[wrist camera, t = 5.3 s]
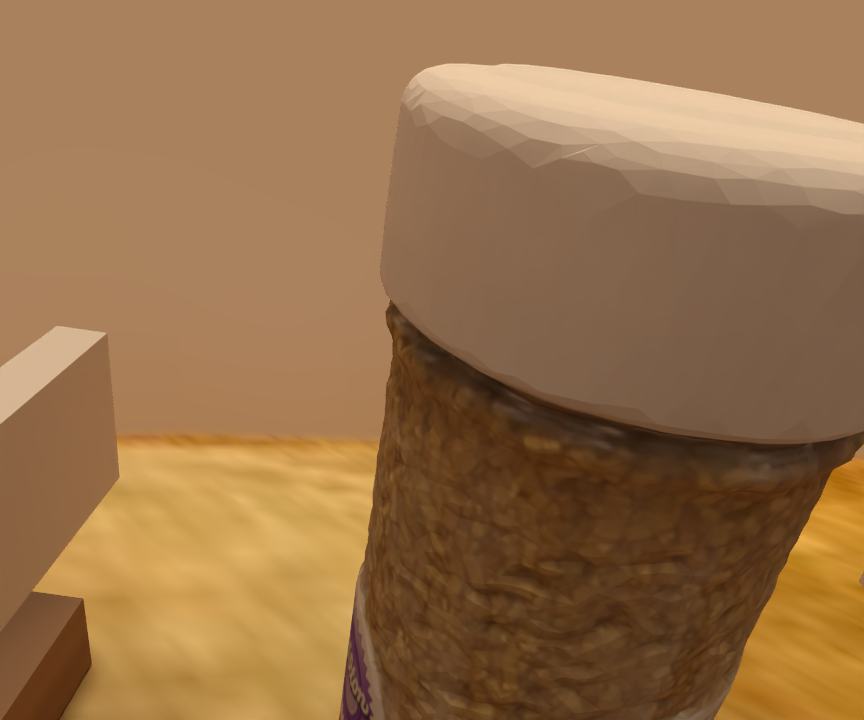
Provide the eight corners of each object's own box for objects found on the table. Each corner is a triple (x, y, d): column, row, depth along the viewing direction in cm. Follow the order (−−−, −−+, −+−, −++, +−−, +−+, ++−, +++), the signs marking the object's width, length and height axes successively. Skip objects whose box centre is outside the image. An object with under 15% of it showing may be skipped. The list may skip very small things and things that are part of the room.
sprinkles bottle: (273, 847, 12) (322, 32, 6) (485, 756, 14) (678, 81, 8) (366, 1210, 9) (700, 127, 3) (630, 1018, 11) (1156, 171, 5)
